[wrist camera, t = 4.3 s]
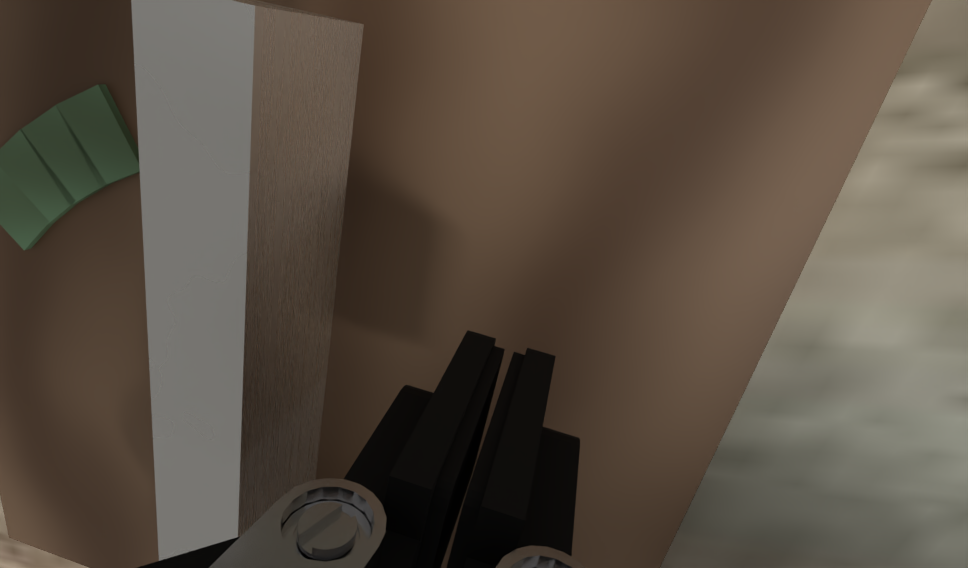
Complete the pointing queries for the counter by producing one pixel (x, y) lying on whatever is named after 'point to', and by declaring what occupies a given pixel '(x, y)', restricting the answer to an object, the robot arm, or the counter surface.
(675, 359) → the dial board
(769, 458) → the counter surface
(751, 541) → the counter surface
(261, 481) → the dial pointer
